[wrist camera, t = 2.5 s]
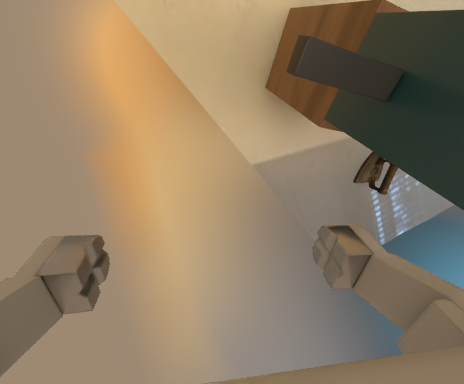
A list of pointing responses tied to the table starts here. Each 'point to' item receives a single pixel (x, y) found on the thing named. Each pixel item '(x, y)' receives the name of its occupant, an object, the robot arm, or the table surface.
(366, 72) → the lever
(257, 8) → the table surface
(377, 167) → the clothes iron
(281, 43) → the riser
